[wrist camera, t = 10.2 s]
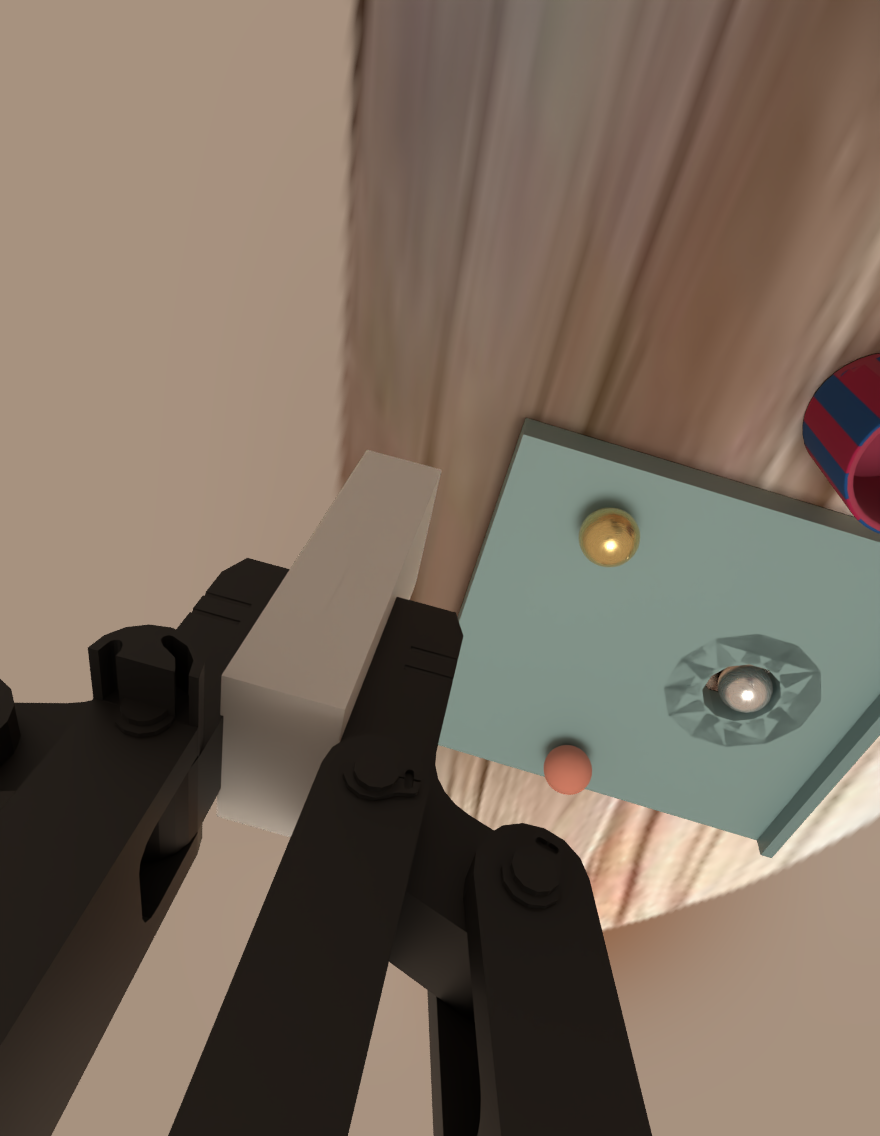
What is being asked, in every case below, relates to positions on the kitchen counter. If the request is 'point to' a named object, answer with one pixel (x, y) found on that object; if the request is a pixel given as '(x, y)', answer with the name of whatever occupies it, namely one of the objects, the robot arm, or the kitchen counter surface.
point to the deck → (669, 637)
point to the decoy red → (567, 769)
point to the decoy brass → (609, 537)
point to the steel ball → (745, 688)
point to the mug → (849, 436)
